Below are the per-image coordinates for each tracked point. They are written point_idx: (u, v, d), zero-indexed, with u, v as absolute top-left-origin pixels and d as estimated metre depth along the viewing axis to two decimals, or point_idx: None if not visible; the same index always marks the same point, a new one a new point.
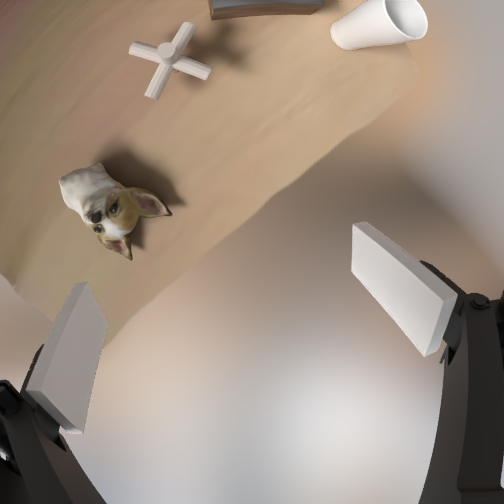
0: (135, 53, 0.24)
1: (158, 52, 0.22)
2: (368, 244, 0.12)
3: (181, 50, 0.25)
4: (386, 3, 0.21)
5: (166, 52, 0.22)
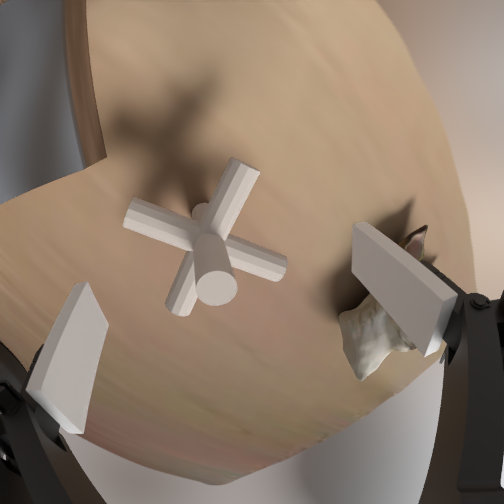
0: (192, 304, 0.18)
1: (220, 302, 0.13)
2: (368, 244, 0.12)
3: (190, 224, 0.16)
4: None
5: (222, 287, 0.12)
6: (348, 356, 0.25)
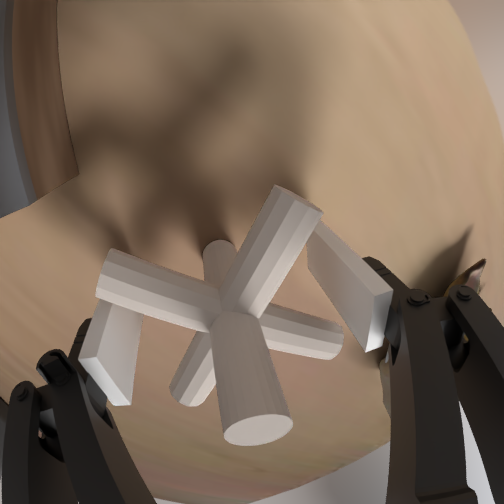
0: (208, 393, 0.12)
1: (263, 441, 0.07)
2: (317, 240, 0.13)
3: (204, 296, 0.10)
4: None
5: (268, 429, 0.06)
6: (389, 410, 0.19)
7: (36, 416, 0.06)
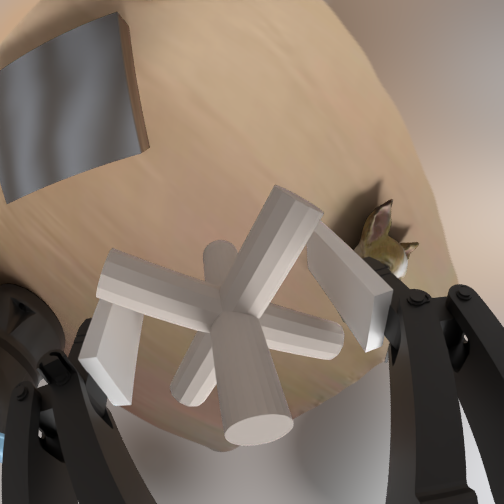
0: (209, 393, 0.12)
1: (264, 441, 0.07)
2: (316, 240, 0.13)
3: (204, 296, 0.10)
4: None
5: (269, 428, 0.06)
6: None
7: (36, 416, 0.06)
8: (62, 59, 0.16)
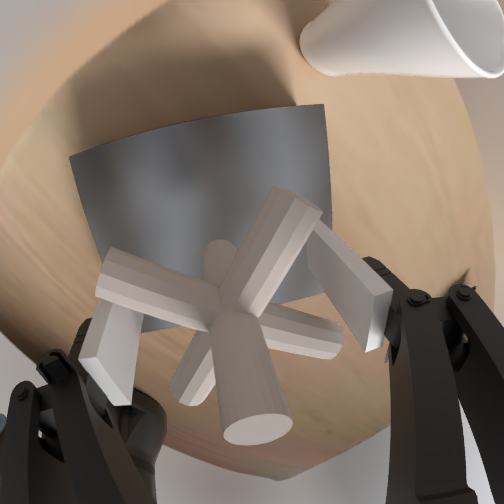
0: (208, 392, 0.12)
1: (263, 441, 0.07)
2: (317, 240, 0.13)
3: (204, 295, 0.10)
4: None
5: (268, 428, 0.06)
6: None
7: (36, 416, 0.06)
8: (240, 158, 0.16)
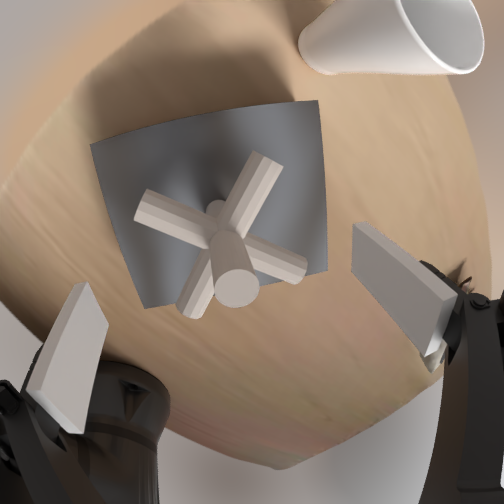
0: (205, 306, 0.17)
1: (240, 304, 0.12)
2: (368, 244, 0.12)
3: (206, 220, 0.15)
4: None
5: (243, 287, 0.11)
6: (424, 359, 0.36)
7: None
8: (243, 147, 0.18)
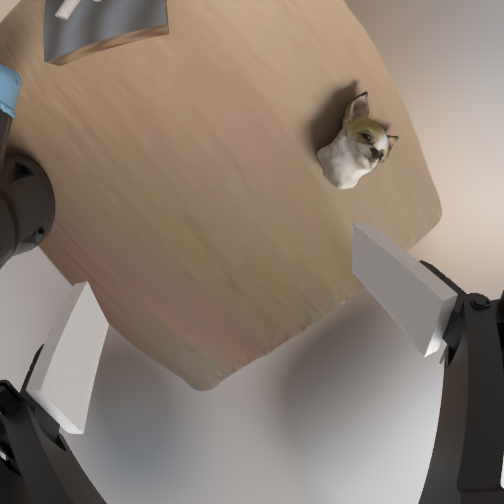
0: (68, 10, 0.16)
1: None
2: (368, 244, 0.12)
3: None
4: None
5: None
6: (326, 174, 0.37)
7: None
8: None
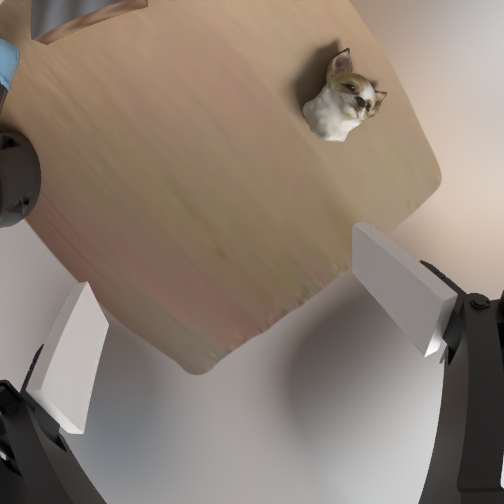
0: None
1: None
2: (368, 244, 0.12)
3: None
4: None
5: None
6: (312, 127, 0.34)
7: None
8: None
